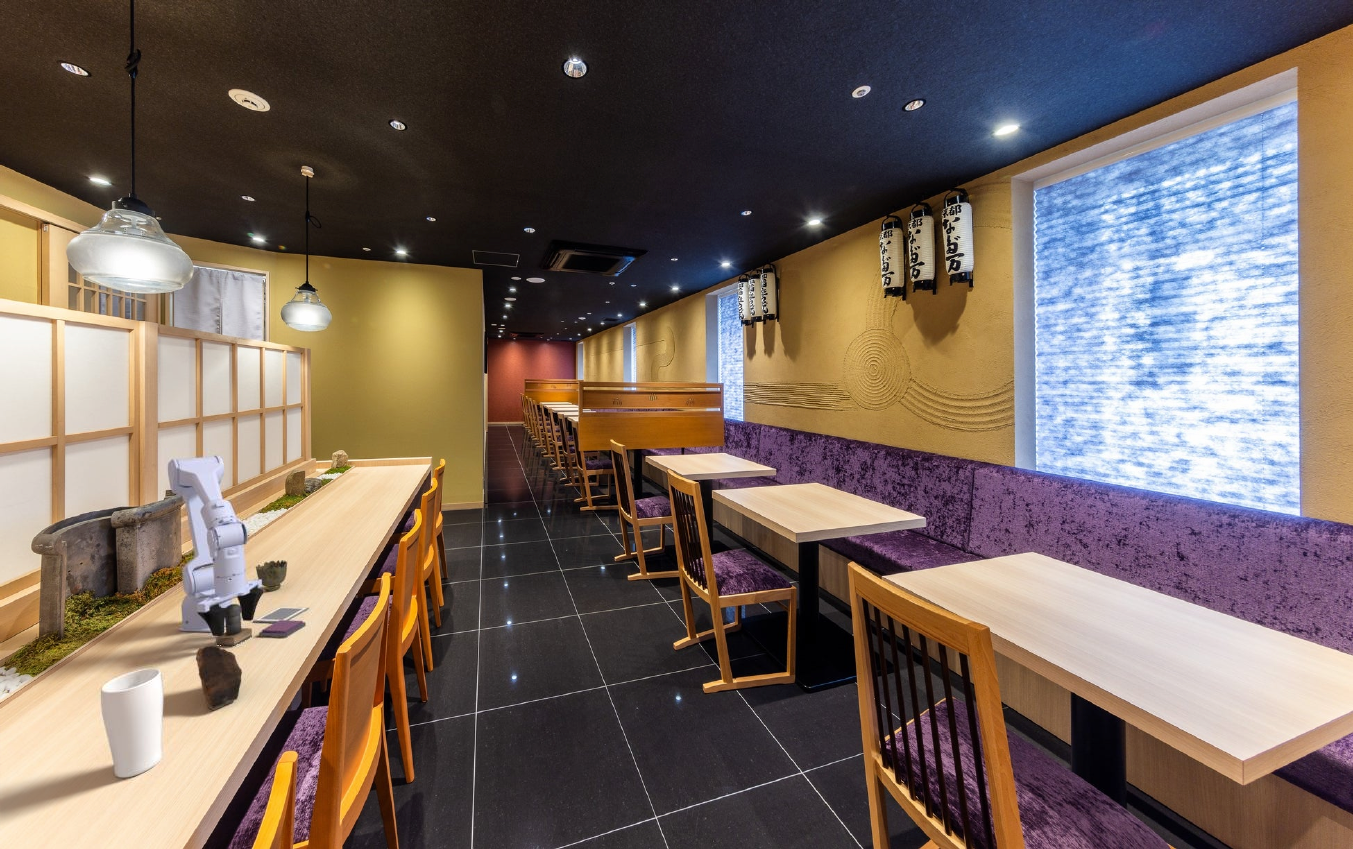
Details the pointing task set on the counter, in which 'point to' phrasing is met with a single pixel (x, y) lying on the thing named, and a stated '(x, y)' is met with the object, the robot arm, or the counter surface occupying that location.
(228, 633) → the wooden stamp
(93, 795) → the counter surface
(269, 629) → the ink pad
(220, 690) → the decorative rock
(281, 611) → the stamping board
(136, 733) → the white tumbler
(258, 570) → the cup
